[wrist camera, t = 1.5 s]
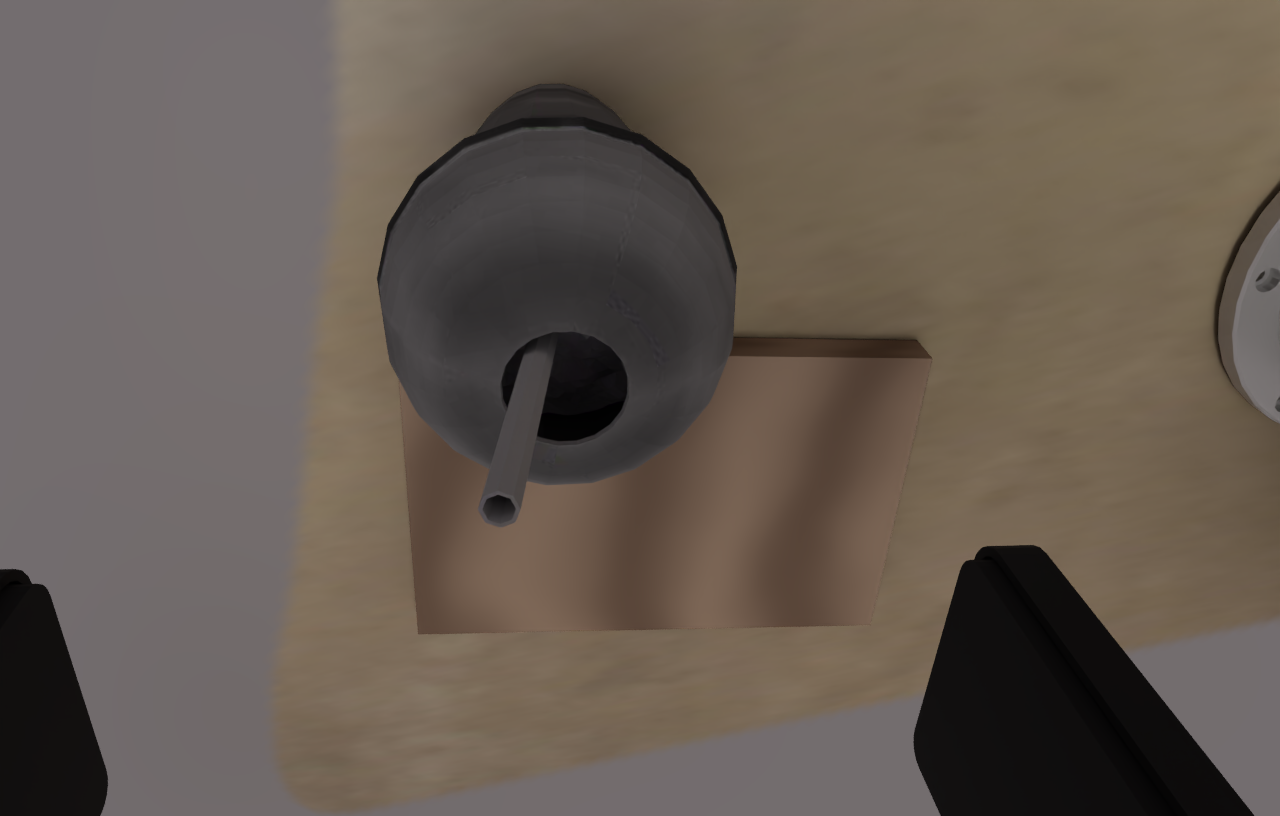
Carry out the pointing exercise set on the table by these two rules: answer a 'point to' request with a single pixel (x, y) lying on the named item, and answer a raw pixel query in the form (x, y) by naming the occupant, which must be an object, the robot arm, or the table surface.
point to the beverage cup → (557, 296)
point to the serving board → (690, 508)
